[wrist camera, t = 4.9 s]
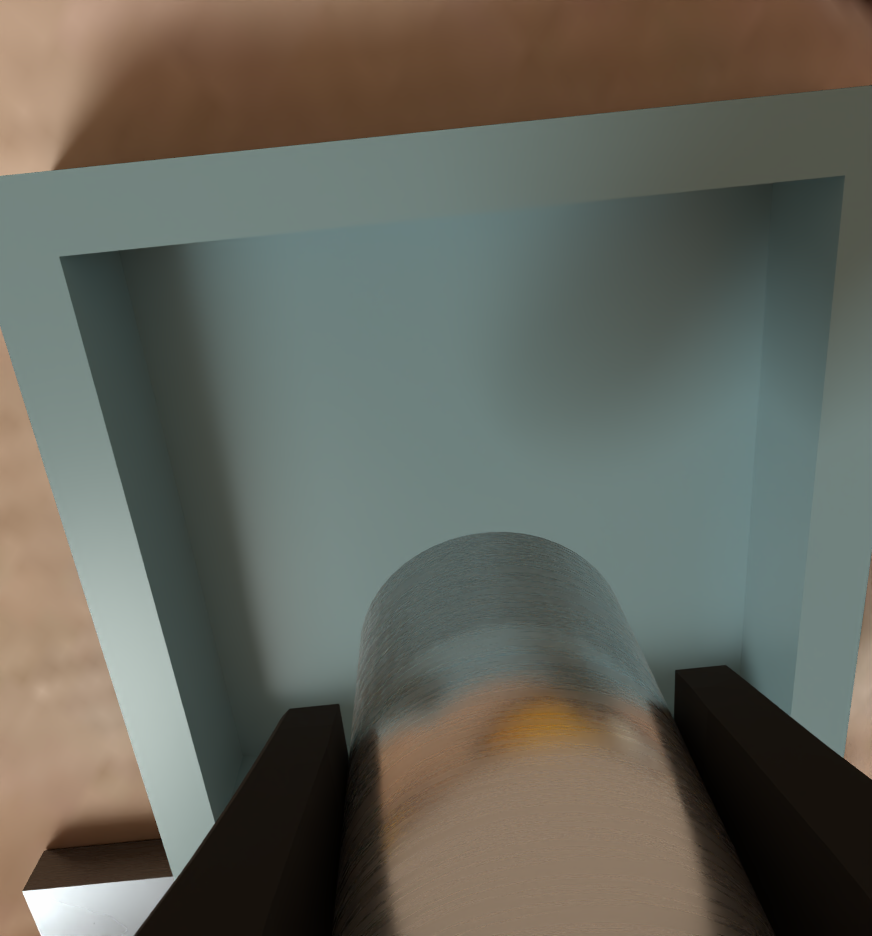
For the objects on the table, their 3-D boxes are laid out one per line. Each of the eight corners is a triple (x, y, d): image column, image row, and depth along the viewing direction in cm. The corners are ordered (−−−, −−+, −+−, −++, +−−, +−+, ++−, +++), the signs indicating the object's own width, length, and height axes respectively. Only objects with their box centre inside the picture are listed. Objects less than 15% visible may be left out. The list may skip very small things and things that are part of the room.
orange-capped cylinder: (629, 521, 11) (983, 1108, 4) (620, 742, 12) (866, 1418, 6) (345, 542, 10) (246, 1166, 4) (373, 761, 12) (334, 1462, 6)
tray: (828, 97, 14) (936, 78, 11) (772, 725, 19) (834, 820, 16) (46, 178, 14) (-45, 180, 11) (210, 780, 19) (175, 884, 16)
